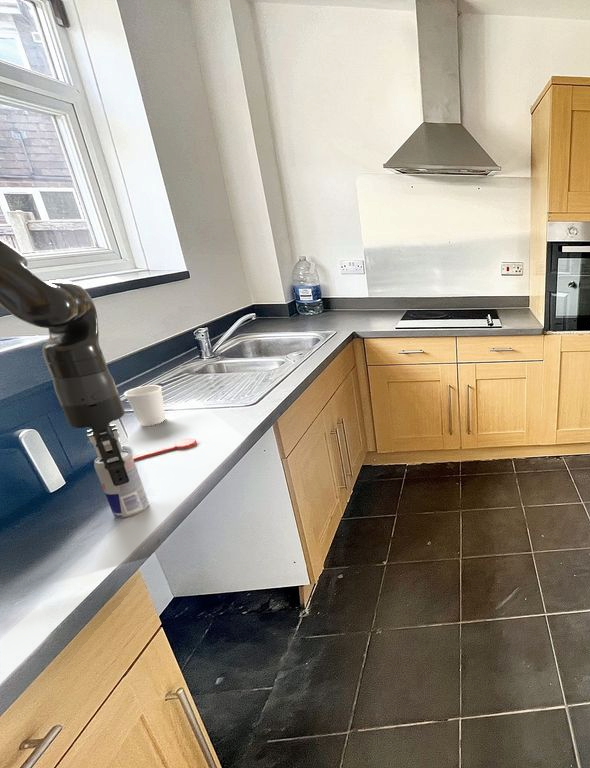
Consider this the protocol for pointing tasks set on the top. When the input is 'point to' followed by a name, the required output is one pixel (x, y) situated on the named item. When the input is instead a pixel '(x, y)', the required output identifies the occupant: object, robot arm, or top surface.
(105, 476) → the energy drink
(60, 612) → the top surface
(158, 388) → the dixie cup
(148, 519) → the top surface
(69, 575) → the top surface
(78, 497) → the top surface
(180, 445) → the spoon
